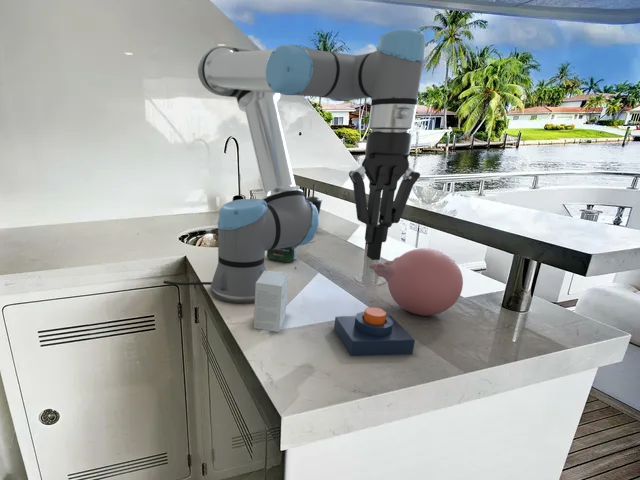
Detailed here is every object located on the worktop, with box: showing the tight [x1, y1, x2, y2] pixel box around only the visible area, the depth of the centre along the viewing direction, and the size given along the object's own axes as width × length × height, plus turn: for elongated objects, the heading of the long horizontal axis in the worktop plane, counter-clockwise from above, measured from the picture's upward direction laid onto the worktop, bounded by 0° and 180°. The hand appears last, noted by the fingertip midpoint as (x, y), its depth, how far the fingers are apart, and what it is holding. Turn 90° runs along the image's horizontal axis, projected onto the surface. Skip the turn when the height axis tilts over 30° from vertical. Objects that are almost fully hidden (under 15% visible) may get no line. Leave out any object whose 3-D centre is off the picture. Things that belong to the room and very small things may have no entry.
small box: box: [253, 270, 289, 333], centre depth 81 cm, size 8×6×10 cm
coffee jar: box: [266, 246, 298, 263], centre depth 122 cm, size 10×8×19 cm
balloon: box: [368, 247, 464, 316], centre depth 88 cm, size 15×20×15 cm
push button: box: [333, 311, 416, 357], centre depth 75 cm, size 12×10×5 cm
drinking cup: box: [305, 183, 323, 216], centre depth 157 cm, size 8×8×20 cm
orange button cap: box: [363, 306, 387, 325], centre depth 74 cm, size 4×4×2 cm
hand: (373, 257), depth 75 cm, fingers closed
